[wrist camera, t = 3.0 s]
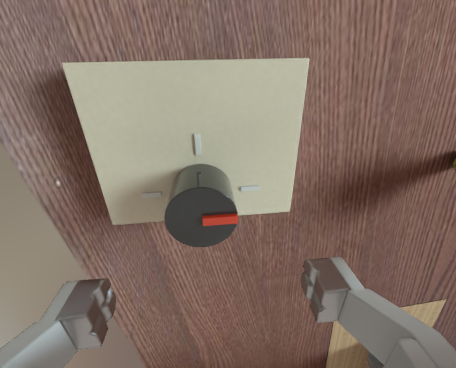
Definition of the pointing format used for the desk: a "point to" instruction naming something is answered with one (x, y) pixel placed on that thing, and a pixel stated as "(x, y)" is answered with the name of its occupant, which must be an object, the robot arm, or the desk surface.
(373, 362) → the ruin model on sheet
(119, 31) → the desk surface
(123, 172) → the stove panel
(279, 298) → the desk surface
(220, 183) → the burner knob
